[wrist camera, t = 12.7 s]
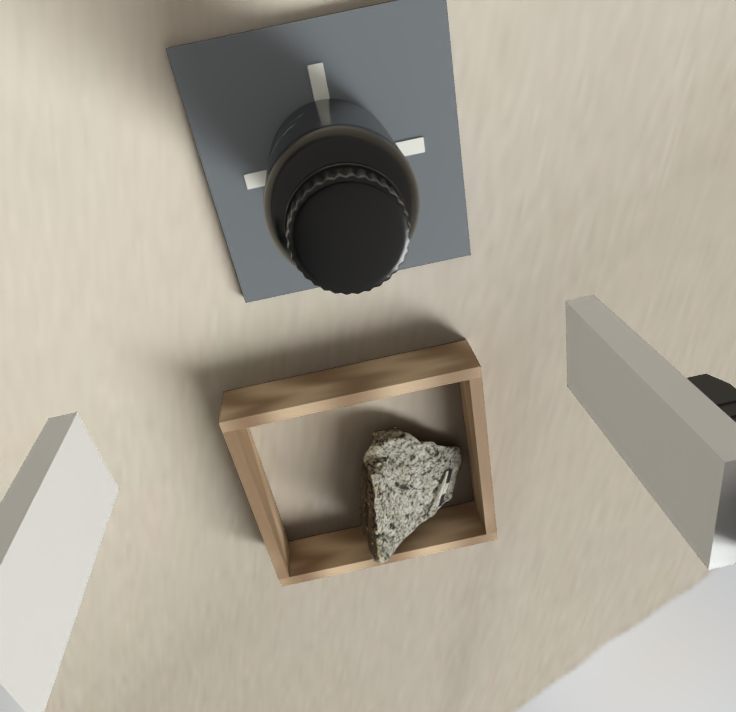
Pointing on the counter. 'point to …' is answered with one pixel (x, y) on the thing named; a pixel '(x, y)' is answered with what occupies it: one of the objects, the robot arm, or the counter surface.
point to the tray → (348, 389)
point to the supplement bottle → (339, 196)
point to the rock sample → (403, 487)
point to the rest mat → (315, 82)
